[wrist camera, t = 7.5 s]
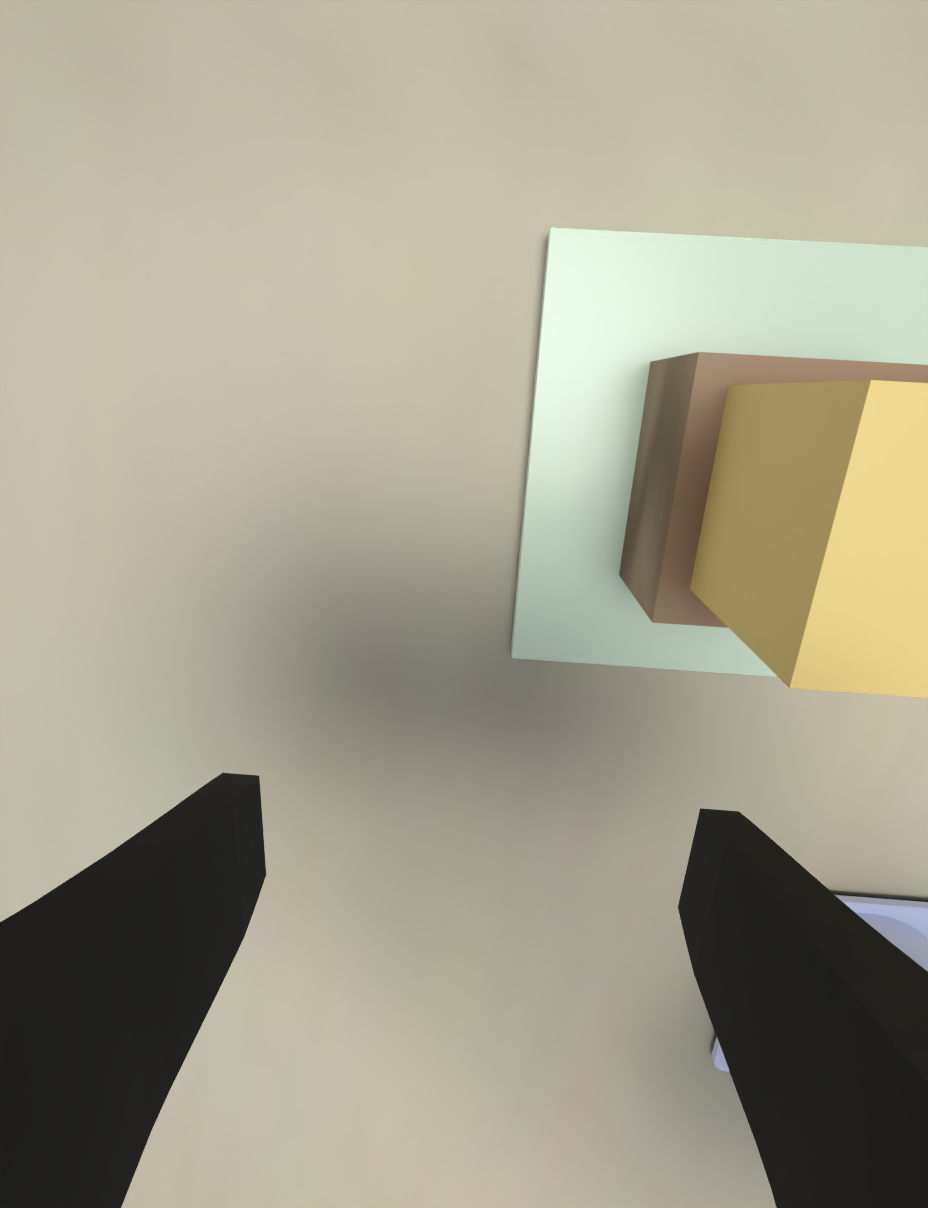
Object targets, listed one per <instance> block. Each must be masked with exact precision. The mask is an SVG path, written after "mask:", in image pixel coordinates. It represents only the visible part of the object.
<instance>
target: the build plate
mask: <svg viewBox="0 0 928 1208" xmlns="http://www.w3.org/2000/svg"><path fill="white" fill-rule="evenodd" d="M696 352H709V353H727V354H745V355H762V356H780V357H798V358H815V359H833V360H851V361H868V362H886V363H904V364H921V365H928V247H913V246H894V245H875V244H855V243H836V242H817V241H797V240H778V239H759V238H740V237H720V236H701V235H682V234H663V233H643V232H624V231H605V230H586V229H566V228H550V231H549V234H548V239H547V250H546V262H545V273H544V284H543V295H542V307H541V318H540V329H539V340H538V352H537V363H536V374H535V385H534V396H533V408H532V419H531V430H530V441H529V453H528V464H527V475H526V486H525V498H524V509H523V520H522V531H521V543H520V554H519V565H518V576H517V588H516V599H515V610H514V621H513V633H512V644H511V654H512V658H514V659H528V660H543V661H557V662H572V663H586V664H600V665H615V666H629V667H644V668H658V669H672V670H687V671H701V672H716V673H730V674H745V675H759V676H773V677H778V676H777V675H776V674H775V673H774V672H773V671H772V670H771V669H770V668H769V667H768V666H767V665H766V664H765V663H764V662H763V661H762V660H761V659H760V658H759V657H758V656H757V655H756V654H755V653H754V652H753V651H752V650H751V649H750V648H749V647H748V646H747V645H746V644H745V643H744V642H743V641H742V640H741V639H740V638H739V637H737V636H736V635H735V634H734V633H733V632H732V631H731V630H730V629H729V628H724V627H710V626H695V625H680V624H665V623H652V622H651V620H650V619H649V617H648V616H647V614H646V613H645V612H644V610H643V609H642V607H641V606H640V604H639V603H638V602H637V600H636V599H635V597H634V596H633V594H632V593H631V592H630V590H629V589H628V587H627V586H626V584H625V583H624V581H623V580H622V579H621V577H620V576H619V571H620V565H621V558H622V551H623V544H624V538H625V531H626V524H627V517H628V511H629V504H630V497H631V490H632V484H633V477H634V470H635V463H636V457H637V450H638V443H639V436H640V429H641V423H642V416H643V409H644V402H645V396H646V389H647V382H648V375H649V369H650V362H651V361H656V360H661V359H666V358H671V357H676V356H681V355H686V354H691V353H696Z"/></svg>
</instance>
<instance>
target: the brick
mask: <svg viewBox="0 0 928 1208" xmlns="http://www.w3.org/2000/svg"><path fill="white" fill-rule="evenodd" d="M690 590H691V591H692V592H693V593H694V594H695V595H696V596H697V597H698V598H699V599H700V600H701V601H702V602H703V603H704V604H705V605H706V606H707V607H708V608H709V609H710V610H711V611H712V612H713V613H714V614H715V615H716V616H717V617H718V618H719V619H720V620H721V621H722V622H723V623H724V624H725V625H726V626H727V627H728V628H729V629H730V630H731V631H732V632H733V633H734V634H735V635H736V636H737V637H739V638H740V639H741V640H742V641H743V642H744V643H745V644H746V645H747V646H748V647H749V648H750V649H751V650H752V651H753V652H754V653H755V654H756V655H757V656H758V657H759V658H760V659H761V660H762V661H763V662H764V663H765V664H766V665H767V666H768V667H769V668H770V669H771V670H772V671H773V672H774V673H775V674H776V675H777V676H778V677H779V678H780V679H781V680H782V681H783V682H784V683H785V684H786V685H787V686H788V687H789V688H795V689H810V690H824V691H838V692H853V693H867V694H881V695H896V696H910V697H924V698H928V383H916V382H899V381H881V380H855V381H828V382H800V383H773V384H745V385H729V386H728V391H727V397H726V402H725V407H724V412H723V418H722V423H721V428H720V433H719V439H718V444H717V449H716V454H715V460H714V465H713V470H712V475H711V480H710V486H709V491H708V496H707V501H706V507H705V512H704V517H703V522H702V528H701V533H700V538H699V543H698V549H697V554H696V559H695V564H694V570H693V575H692V580H691V585H690Z"/></svg>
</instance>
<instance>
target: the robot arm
mask: <svg viewBox="0 0 928 1208" xmlns="http://www.w3.org/2000/svg"><path fill="white" fill-rule="evenodd" d="M265 876H266V867H265V853H264V839H263V824H262V810H261V796H260V781H259V776H256V775H242V774H229V773H222V774H221V775H219V776H217V777H216V778H214V779H213V780H211V781H210V782H209V783H207V784H206V785H204V786H203V787H201V788H200V789H199V790H197V791H196V792H194V793H193V794H192V795H190V796H189V797H188V798H186V799H185V800H183V801H182V802H181V803H179V804H178V805H176V806H175V807H174V808H172V809H171V810H170V811H168V812H167V813H165V814H164V815H163V816H161V817H160V818H158V819H157V820H156V821H154V822H153V823H151V824H150V825H149V826H147V827H146V828H144V829H143V830H141V831H140V832H139V833H137V834H136V835H134V836H133V837H132V838H130V839H129V840H127V841H126V842H124V843H123V844H122V845H120V846H119V847H117V848H116V849H115V850H113V851H112V852H110V853H109V854H107V855H106V856H104V857H103V858H101V859H100V860H98V861H97V862H95V863H93V864H92V865H90V866H89V867H87V868H86V869H84V870H83V871H81V872H80V873H78V874H77V875H75V876H74V877H72V878H70V879H69V880H67V881H66V882H64V883H63V884H61V885H60V886H58V887H57V888H55V889H54V890H52V891H50V892H49V893H47V894H46V895H44V896H43V897H41V898H40V899H38V900H37V901H35V902H33V903H32V904H30V905H28V906H27V907H25V908H24V909H22V910H20V911H19V912H17V913H15V914H14V915H12V916H10V917H9V918H7V919H5V920H3V921H2V922H0V1208H121V1206H122V1204H123V1201H124V1199H125V1196H126V1194H127V1191H128V1188H129V1186H130V1183H131V1181H132V1178H133V1176H134V1173H135V1171H136V1168H137V1166H138V1163H139V1161H140V1158H141V1156H142V1153H143V1150H144V1148H145V1145H146V1143H147V1140H148V1138H149V1135H150V1133H151V1130H152V1128H153V1126H154V1124H155V1121H156V1119H157V1117H158V1115H159V1113H160V1110H161V1108H162V1106H163V1104H164V1101H165V1099H166V1097H167V1095H168V1092H169V1090H170V1088H171V1086H172V1084H173V1082H174V1080H175V1078H176V1076H177V1074H178V1072H179V1070H180V1068H181V1066H182V1064H183V1062H184V1060H185V1058H186V1056H187V1054H188V1052H189V1050H190V1048H191V1045H192V1043H193V1041H194V1039H195V1037H196V1035H197V1033H198V1031H199V1029H200V1027H201V1025H202V1023H203V1021H204V1019H205V1017H206V1015H207V1013H208V1011H209V1009H210V1007H211V1005H212V1003H213V1001H214V999H215V997H216V994H217V992H218V990H219V988H220V986H221V984H222V982H223V980H224V978H225V976H226V974H227V972H228V970H229V968H230V966H231V963H232V961H233V959H234V957H235V955H236V953H237V951H238V949H239V947H240V945H241V942H242V940H243V938H244V936H245V933H246V930H247V928H248V925H249V922H250V919H251V917H252V914H253V911H254V909H255V906H256V903H257V900H258V897H259V894H260V891H261V888H262V885H263V882H264V879H265ZM678 909H679V913H680V918H681V922H682V926H683V931H684V935H685V940H686V944H687V948H688V952H689V956H690V960H691V963H692V967H693V971H694V975H695V978H696V980H697V983H698V986H699V989H700V992H701V995H702V997H703V1000H704V1003H705V1006H706V1008H707V1011H708V1014H709V1017H710V1019H711V1022H712V1025H713V1028H714V1030H715V1033H716V1036H717V1037H716V1040H715V1044H714V1047H713V1051H712V1060H713V1063H714V1066H715V1067H716V1068H717V1069H719V1070H721V1071H726V1072H730V1074H731V1076H732V1079H733V1082H734V1084H735V1087H736V1090H737V1092H738V1095H739V1098H740V1101H741V1103H742V1106H743V1109H744V1111H745V1114H746V1117H747V1119H748V1122H749V1125H750V1128H751V1130H752V1133H753V1136H754V1138H755V1141H756V1144H757V1147H758V1150H759V1153H760V1156H761V1159H762V1162H763V1165H764V1168H765V1171H766V1174H767V1177H768V1180H769V1183H770V1186H771V1189H772V1193H773V1196H774V1200H775V1203H776V1207H777V1208H928V902H918V901H906V900H893V899H880V898H867V897H854V896H841V895H834V894H833V893H832V892H831V891H829V890H828V889H827V888H826V887H825V886H824V885H823V884H821V883H820V882H819V881H818V880H817V879H816V878H815V877H813V876H812V875H811V874H810V873H809V872H808V871H807V870H806V869H804V868H803V867H802V866H801V865H800V864H799V863H798V862H797V861H795V860H794V859H793V858H792V857H791V856H790V855H789V854H787V853H786V852H785V851H784V850H783V849H782V848H781V847H780V846H778V845H777V844H776V843H775V842H774V841H773V840H772V839H770V838H769V837H768V836H767V835H766V834H765V833H764V832H763V831H761V830H760V829H759V828H758V827H757V826H756V825H754V824H753V823H752V822H751V821H750V820H748V819H747V818H746V817H745V816H743V815H742V814H741V813H740V812H737V811H724V810H711V809H700V812H699V817H698V821H697V826H696V830H695V835H694V839H693V843H692V848H691V852H690V857H689V861H688V865H687V870H686V874H685V879H684V883H683V888H682V892H681V896H680V901H679V905H678Z"/></svg>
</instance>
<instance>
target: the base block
mask: <svg viewBox="0 0 928 1208" xmlns="http://www.w3.org/2000/svg"><path fill="white" fill-rule="evenodd" d="M855 380H881V381H899V382H916V383H928V365H921V364H904V363H886V362H868V361H851V360H833V359H815V358H798V357H780V356H762V355H745V354H727V353H709V352H696V353H691V354H686V355H681V356H676V357H671V358H666V359H661V360H656V361H651V362H650V369H649V375H648V382H647V389H646V396H645V402H644V409H643V416H642V423H641V429H640V436H639V443H638V450H637V457H636V463H635V470H634V477H633V484H632V490H631V497H630V504H629V511H628V517H627V524H626V531H625V538H624V544H623V551H622V558H621V565H620V571H619V576H620V577H621V579H622V580H623V581H624V583H625V584H626V586H627V587H628V589H629V590H630V592H631V593H632V594H633V596H634V597H635V599H636V600H637V602H638V603H639V604H640V606H641V607H642V609H643V610H644V612H645V613H646V614H647V616H648V617H649V619H650V620H651V622H652V623H665V624H680V625H695V626H710V627H724V628H728V627H727V626H726V625H725V624H724V623H723V622H722V621H721V620H720V619H719V618H718V617H717V616H716V615H715V614H714V613H713V612H712V611H711V610H710V609H709V608H708V607H707V606H706V605H705V604H704V603H703V602H702V601H701V600H700V599H699V598H698V597H697V596H696V595H695V594H694V593H693V592H692V591H691V590H690V585H691V580H692V575H693V570H694V564H695V559H696V554H697V549H698V543H699V538H700V533H701V528H702V522H703V517H704V512H705V507H706V501H707V496H708V491H709V486H710V480H711V475H712V470H713V465H714V460H715V454H716V449H717V444H718V439H719V433H720V428H721V423H722V418H723V412H724V407H725V402H726V397H727V391H728V386H729V385H745V384H773V383H800V382H828V381H855Z"/></svg>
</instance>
